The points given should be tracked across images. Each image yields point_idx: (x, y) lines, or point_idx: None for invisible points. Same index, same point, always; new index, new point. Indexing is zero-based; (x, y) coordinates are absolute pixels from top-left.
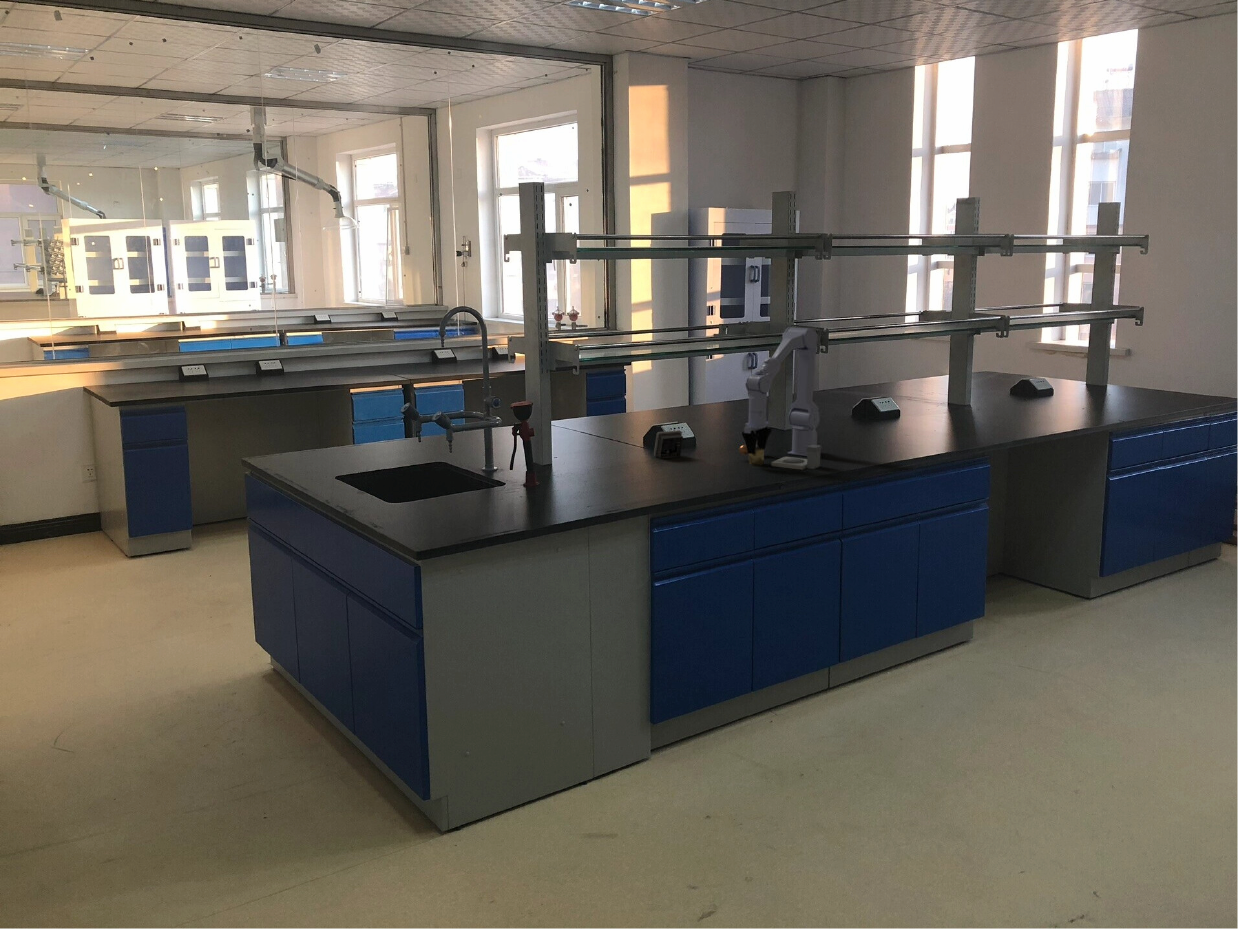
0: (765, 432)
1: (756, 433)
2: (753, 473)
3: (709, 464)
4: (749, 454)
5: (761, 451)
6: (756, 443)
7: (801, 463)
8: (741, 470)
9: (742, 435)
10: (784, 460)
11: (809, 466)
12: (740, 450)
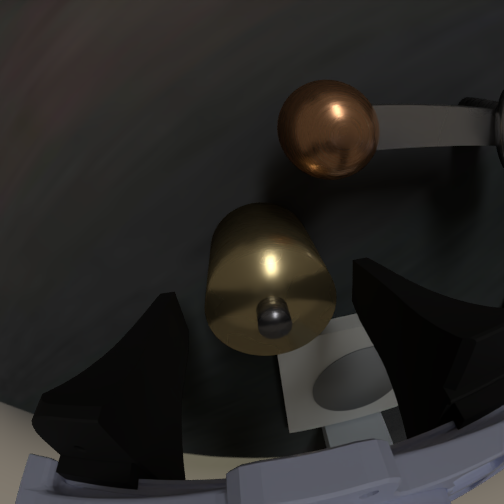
0: (414, 417)
1: (429, 329)
2: (82, 353)
3: (39, 58)
4: (212, 262)
5: (255, 349)
6: (499, 147)
7: (331, 413)
8: (69, 289)
9: (49, 394)
10: (342, 364)
11: (324, 427)
12: (278, 119)
